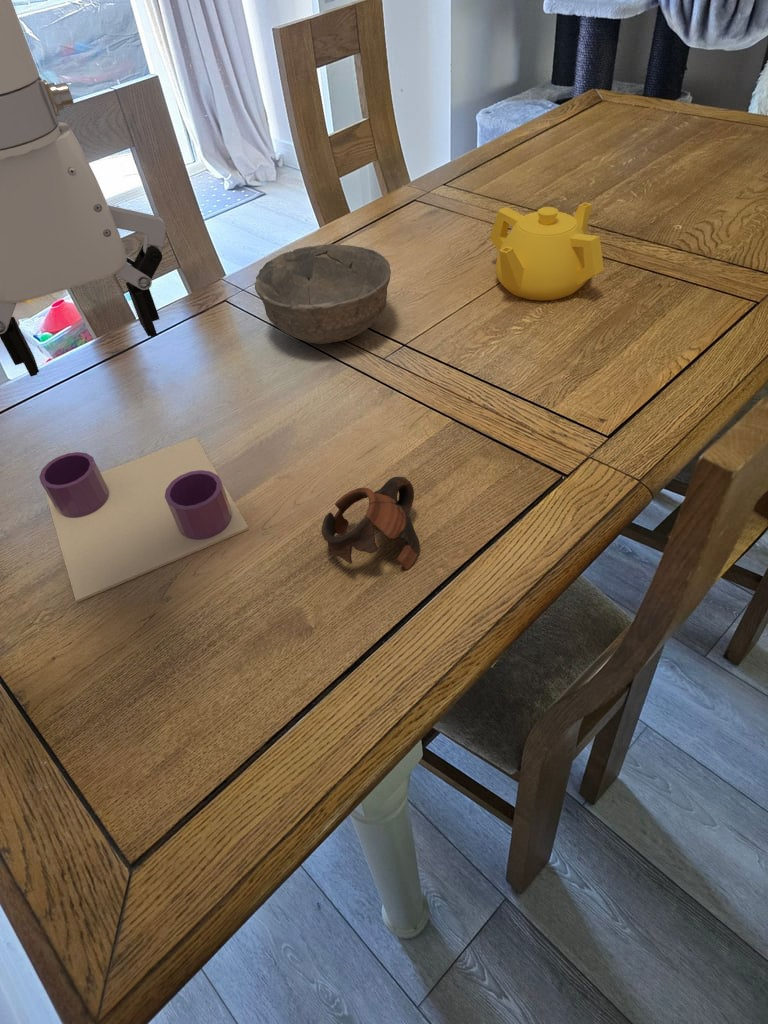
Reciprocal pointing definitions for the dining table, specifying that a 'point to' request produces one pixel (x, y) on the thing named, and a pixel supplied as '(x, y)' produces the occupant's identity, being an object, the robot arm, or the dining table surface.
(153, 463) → the placemat
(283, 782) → the dining table surface
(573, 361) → the dining table surface
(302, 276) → the bowl
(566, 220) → the teapot
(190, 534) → the purple hollow cylinder
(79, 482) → the purple cup
